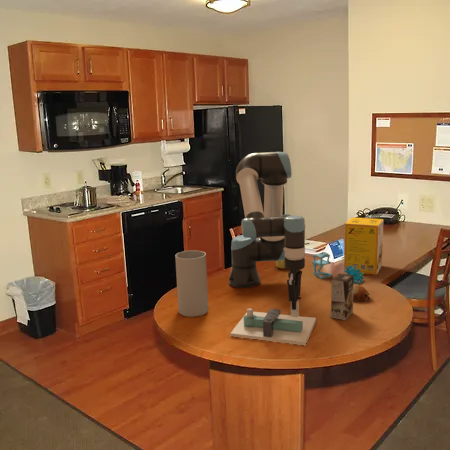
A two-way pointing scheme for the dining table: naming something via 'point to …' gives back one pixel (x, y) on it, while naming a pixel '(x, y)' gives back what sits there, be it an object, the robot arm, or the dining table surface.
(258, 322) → the latch bar
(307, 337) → the base plate
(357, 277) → the gear
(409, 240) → the dining table surface
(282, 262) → the plant pot
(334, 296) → the coffee box
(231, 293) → the dining table surface
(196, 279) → the cylinder vase
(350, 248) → the packaging box
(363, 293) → the bread roll
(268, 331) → the bar
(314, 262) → the chair
